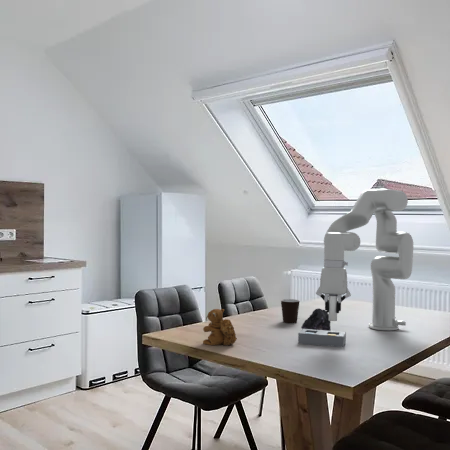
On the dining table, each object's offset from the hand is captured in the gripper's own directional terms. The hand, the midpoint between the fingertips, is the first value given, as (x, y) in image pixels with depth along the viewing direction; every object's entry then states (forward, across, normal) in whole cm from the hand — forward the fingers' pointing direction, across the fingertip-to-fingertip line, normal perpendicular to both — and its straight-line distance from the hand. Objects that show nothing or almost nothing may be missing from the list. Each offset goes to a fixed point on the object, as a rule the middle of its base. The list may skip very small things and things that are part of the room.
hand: (332, 311), depth 210 cm
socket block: (+12, +4, -1) cm, 13 cm away
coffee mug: (+12, +24, -38) cm, 47 cm away
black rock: (+12, +10, -22) cm, 27 cm away
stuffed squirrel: (+13, +40, +14) cm, 45 cm away
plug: (+3, 0, 0) cm, 3 cm away
